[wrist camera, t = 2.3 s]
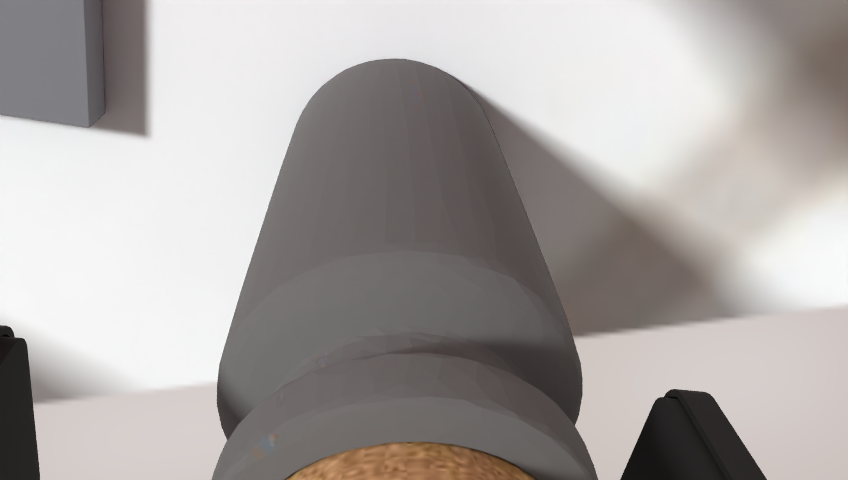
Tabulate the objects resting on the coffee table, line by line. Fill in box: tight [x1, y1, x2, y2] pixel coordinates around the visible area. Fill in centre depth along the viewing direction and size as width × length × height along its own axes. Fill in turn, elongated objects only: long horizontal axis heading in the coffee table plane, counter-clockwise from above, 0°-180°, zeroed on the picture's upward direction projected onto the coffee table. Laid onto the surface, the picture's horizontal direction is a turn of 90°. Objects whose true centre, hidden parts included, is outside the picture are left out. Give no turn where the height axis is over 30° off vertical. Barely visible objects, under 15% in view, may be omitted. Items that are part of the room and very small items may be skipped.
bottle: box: [212, 59, 598, 480], centre depth 14 cm, size 6×6×15 cm
